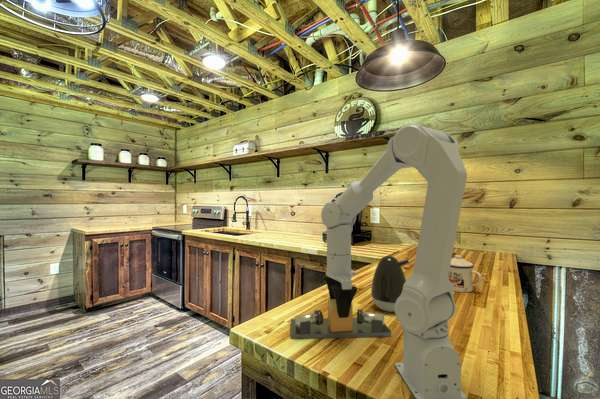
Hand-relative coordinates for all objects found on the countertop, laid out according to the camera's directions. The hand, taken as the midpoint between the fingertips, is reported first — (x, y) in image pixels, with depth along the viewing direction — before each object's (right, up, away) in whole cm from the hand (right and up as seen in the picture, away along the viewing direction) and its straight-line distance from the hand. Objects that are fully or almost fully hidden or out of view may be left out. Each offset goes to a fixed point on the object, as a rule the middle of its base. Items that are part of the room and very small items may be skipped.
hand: (339, 310), depth 66 cm
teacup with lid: (+47, -5, +30) cm, 56 cm away
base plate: (0, -5, +1) cm, 5 cm away
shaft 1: (-7, -5, -1) cm, 9 cm away
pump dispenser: (+16, -5, +14) cm, 22 cm away
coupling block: (0, -4, 0) cm, 4 cm away
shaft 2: (+7, -4, -1) cm, 8 cm away
